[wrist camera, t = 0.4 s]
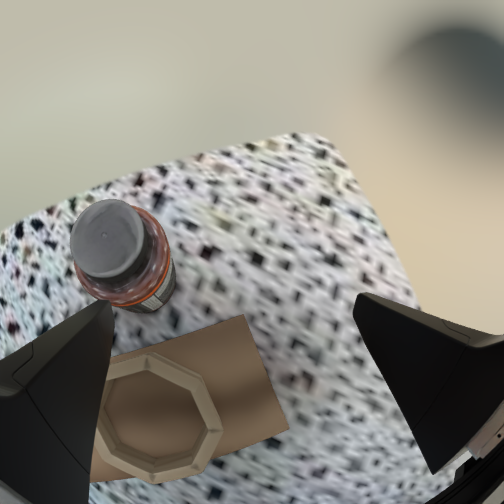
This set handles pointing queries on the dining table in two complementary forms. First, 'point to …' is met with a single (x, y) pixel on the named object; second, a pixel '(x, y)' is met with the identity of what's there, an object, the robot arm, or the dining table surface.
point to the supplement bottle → (123, 256)
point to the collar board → (184, 405)
